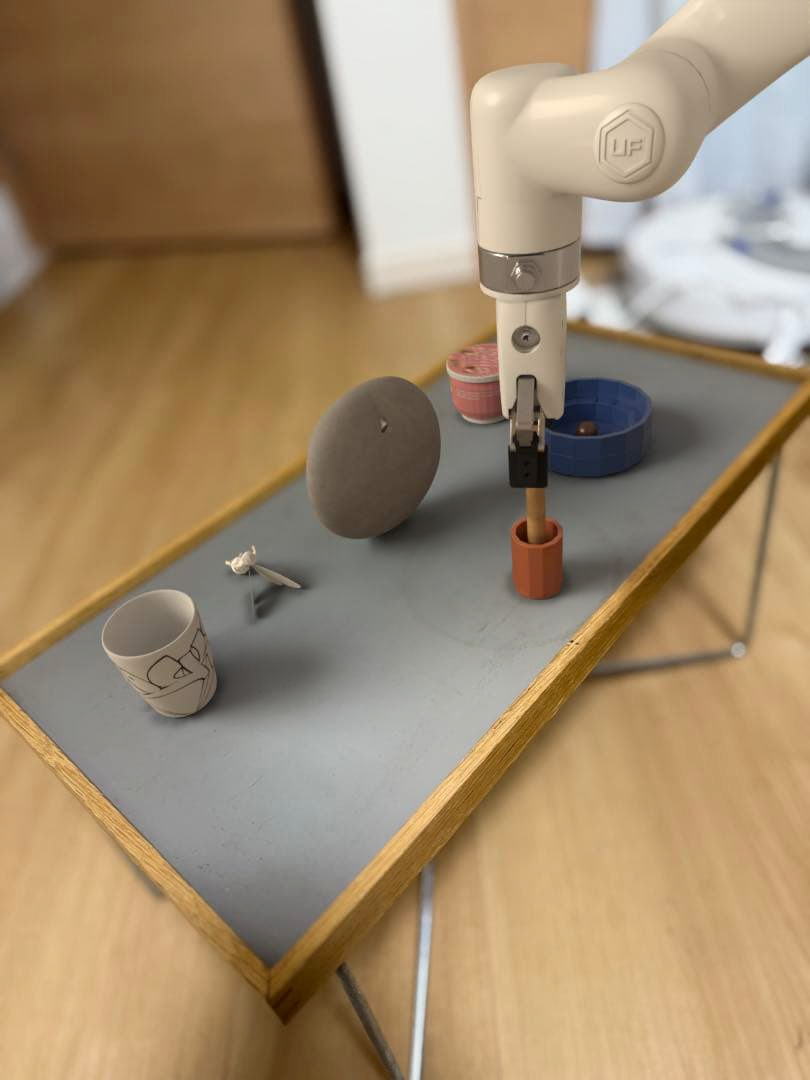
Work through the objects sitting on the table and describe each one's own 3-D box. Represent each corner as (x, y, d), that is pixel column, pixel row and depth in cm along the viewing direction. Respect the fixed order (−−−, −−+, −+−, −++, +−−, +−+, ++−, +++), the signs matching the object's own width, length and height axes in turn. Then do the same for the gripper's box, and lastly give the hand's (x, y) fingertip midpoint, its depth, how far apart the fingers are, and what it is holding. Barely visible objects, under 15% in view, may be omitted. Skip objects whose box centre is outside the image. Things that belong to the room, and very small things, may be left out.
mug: (126, 668, 72) (85, 599, 66) (203, 629, 75) (170, 560, 69) (156, 744, 64) (112, 674, 58) (241, 698, 67) (208, 626, 61)
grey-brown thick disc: (425, 480, 91) (406, 343, 79) (464, 500, 86) (450, 359, 74) (311, 553, 82) (269, 413, 71) (347, 579, 78) (310, 434, 66)
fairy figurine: (254, 546, 83) (268, 533, 77) (285, 595, 83) (301, 587, 77) (209, 572, 80) (219, 561, 74) (241, 623, 81) (254, 616, 74)
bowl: (644, 415, 95) (647, 375, 92) (652, 480, 84) (656, 437, 80) (530, 417, 99) (529, 379, 95) (524, 480, 88) (522, 439, 84)
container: (477, 387, 108) (473, 338, 103) (537, 401, 102) (536, 349, 97) (437, 419, 102) (431, 369, 97) (498, 435, 96) (495, 383, 91)
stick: (547, 573, 74) (545, 424, 62) (546, 585, 72) (544, 435, 61) (529, 573, 74) (524, 425, 63) (528, 584, 73) (523, 436, 61)
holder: (562, 567, 75) (563, 515, 70) (561, 600, 71) (562, 548, 67) (515, 566, 76) (512, 515, 72) (512, 598, 72) (509, 547, 68)
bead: (598, 436, 92) (599, 416, 90) (598, 448, 90) (599, 428, 88) (575, 436, 93) (575, 416, 91) (574, 449, 90) (575, 429, 89)
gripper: (579, 306, 45) (573, 514, 56) (581, 223, 58) (575, 405, 69) (464, 312, 47) (479, 512, 58) (490, 229, 60) (498, 406, 71)
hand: (531, 454), depth 64 cm, fingers open, 9 cm apart
